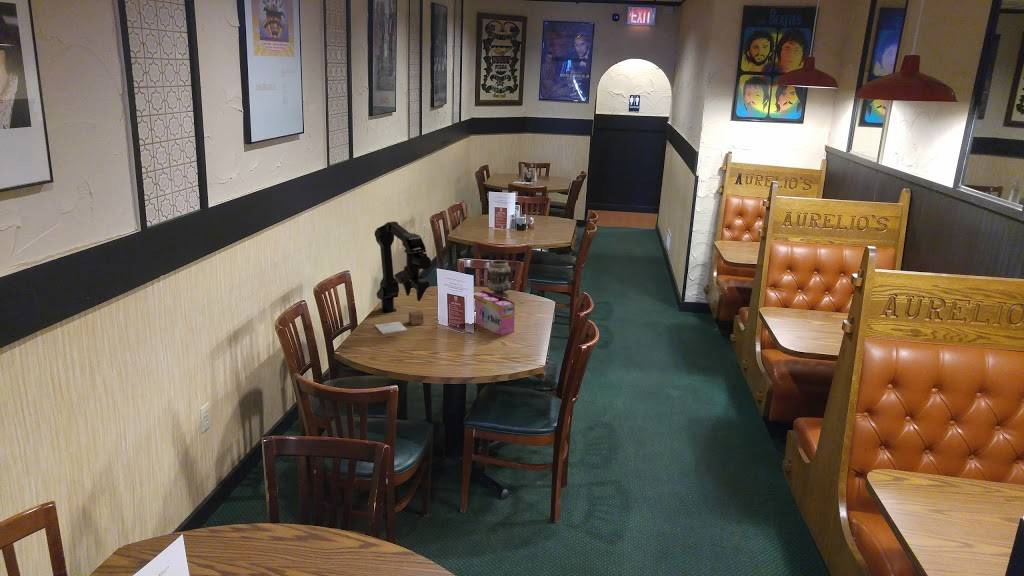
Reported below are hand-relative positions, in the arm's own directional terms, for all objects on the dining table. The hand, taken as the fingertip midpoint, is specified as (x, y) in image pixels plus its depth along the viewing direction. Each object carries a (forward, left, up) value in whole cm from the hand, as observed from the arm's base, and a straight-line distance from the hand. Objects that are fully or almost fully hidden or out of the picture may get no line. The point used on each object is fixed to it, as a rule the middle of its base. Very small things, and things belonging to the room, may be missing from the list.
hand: (413, 298), depth 310 cm
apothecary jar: (-22, +54, -12) cm, 59 cm away
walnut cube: (-1, +2, -12) cm, 12 cm away
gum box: (+17, +31, -13) cm, 37 cm away
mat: (+1, -11, -12) cm, 16 cm away
